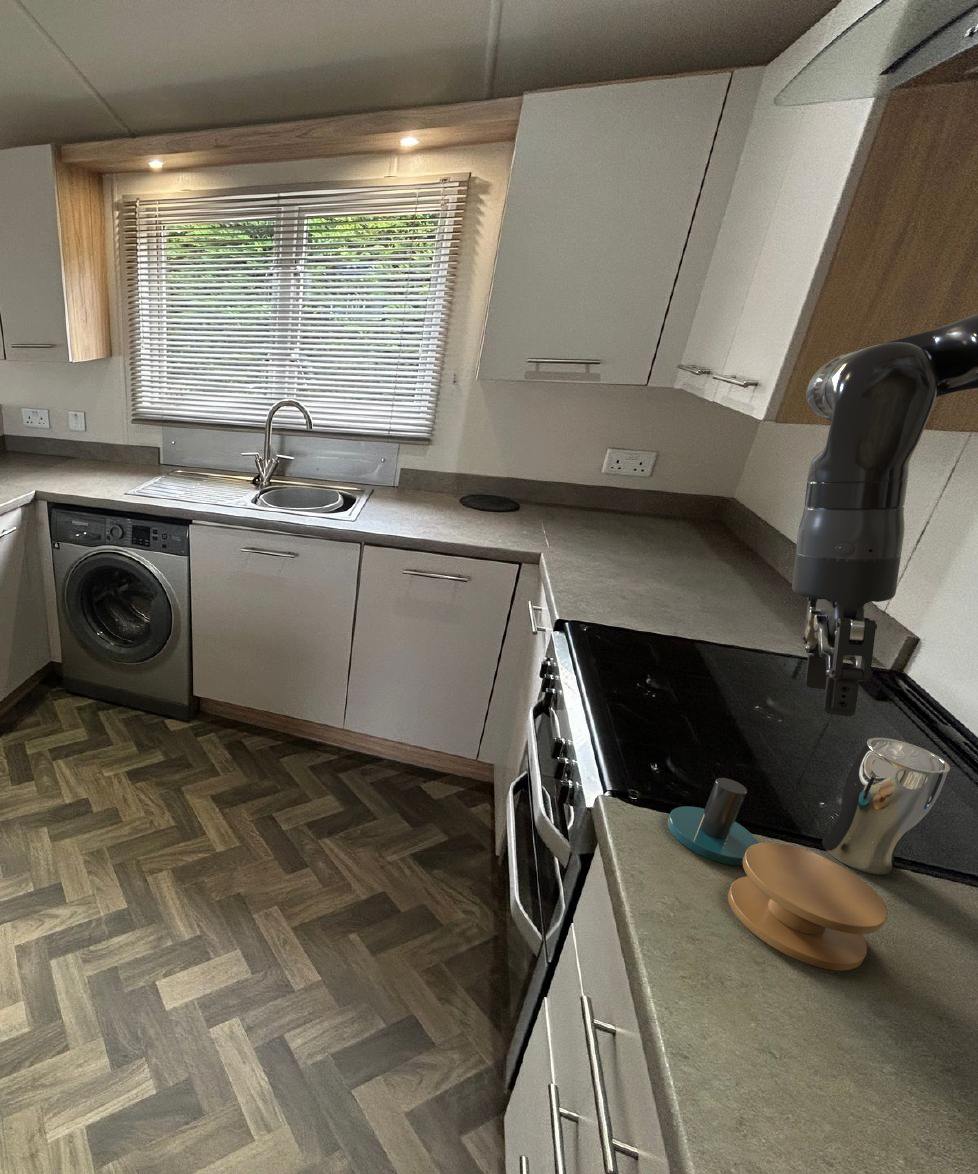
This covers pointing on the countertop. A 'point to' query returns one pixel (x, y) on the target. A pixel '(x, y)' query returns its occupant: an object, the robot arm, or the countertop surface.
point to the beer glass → (884, 803)
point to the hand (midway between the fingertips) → (827, 700)
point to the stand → (806, 906)
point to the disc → (714, 825)
